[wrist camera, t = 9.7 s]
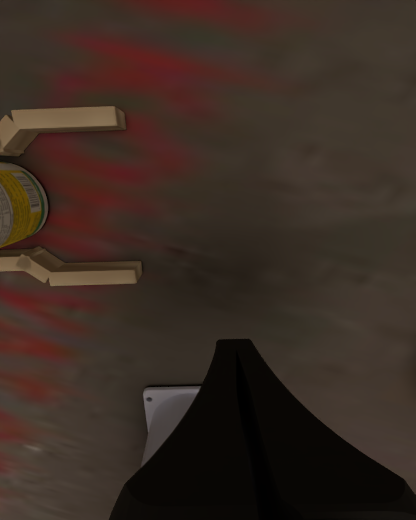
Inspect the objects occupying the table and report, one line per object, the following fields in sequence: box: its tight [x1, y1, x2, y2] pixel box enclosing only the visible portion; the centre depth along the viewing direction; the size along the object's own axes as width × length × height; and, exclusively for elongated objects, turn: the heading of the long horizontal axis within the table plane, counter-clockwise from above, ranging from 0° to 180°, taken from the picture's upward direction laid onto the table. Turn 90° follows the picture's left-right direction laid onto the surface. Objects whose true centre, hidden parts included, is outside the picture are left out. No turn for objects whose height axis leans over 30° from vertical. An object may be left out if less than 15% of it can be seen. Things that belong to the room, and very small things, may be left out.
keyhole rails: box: [0, 106, 143, 286], centre depth 19 cm, size 11×16×2 cm
